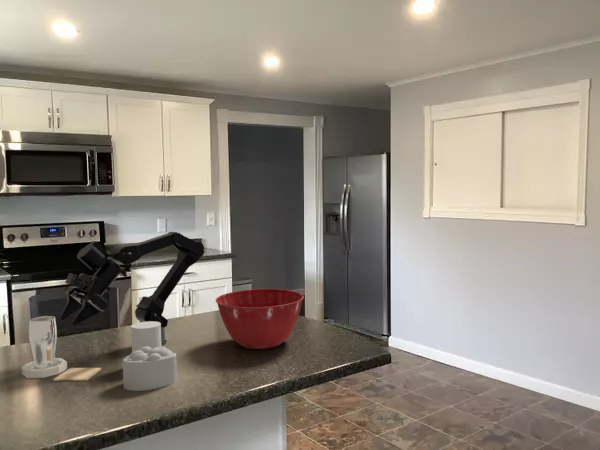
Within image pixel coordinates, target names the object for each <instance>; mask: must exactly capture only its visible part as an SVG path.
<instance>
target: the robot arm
mask: <svg viewBox="0 0 600 450" xmlns="http://www.w3.org/2000/svg"><path fill="white" fill-rule="evenodd" d="M170 246H173V247H174V248H175V249H176V250H177V255H176V260H175V262H174V263H173V265H172V266H171V268H170V269H169V270H168V272H167V273H166V274H165V275H164V277H163V279H162V280H161V282H160V283H159V285H158V286H157V287H156V289H155V291H154V292H152V294H151V295H149V296H144V295H143V296H142V298H141V299H140V301H139V302H138V303H137V304H136V305H135V307H136V309H135V310H134V315H135V319H136V320H137V321H138V322H139V323H140V322H148V321H154V322H160V323H161V344H162V346H163V347H164V345H165V344H166V343H167V342H168V340H167V339H166V331H165V329H166V328H167V327H168V323H169V320H168V319H167V317H165V316H163V313H164V311H165V305H166V304H165V303H166V302H167V300H168V299H169V297H170V295H172V292H173V291H174V290H175V288H176V286H177V285H178V284H179V282H180V281H181V279H182V278H183V276H184V275H185V273H187V270H188V269H189V268H190V267H191V266H193V265H194V264H195V263H197V262H198V261H199V260H200V259H201V258H202V257H203V256H204V254H205V252H206V250H205V245H204V244H203V243H202V242H201V241H195V240H194V239H192V238H189V237H187V236H185V235H184V234H182V233H180V232H178V231H169V232H167V233H164V234H162V235H158V236H155V237H152V238H149V239H146V240H143V241H140V242H136V243H126V244H125V243H124V244H119V245H115V246H114V247H113V248H112V249H110V250H109V249H108V250H105V249H104V248H102V247H101V246H100V244H99V243H98V242H97V241H93V240H92V241H91V242H90V243H89V244H87V245H85V246H84V247H83V248H81V249H80V250H79V251H78V253H77V255H76V258H77V259H78V260H79V261H80V262H82V264H84V265H85V266H87V267H88V268H89V269H90V270H91V271H92V270H97V271H96V272H95V273H94V274H93V275H89V274H87V273H84V272H83V273H82V272H81V273H80V274H75V273H71V272H69V273H68V275H67V277H66V280H65V284H68V285H70V286H69V287H68V288H67V289H66V290H65V296H66V303H65V305H64V307H63V310H62V312H61V315H60V316H59V320H61V321H64V320H66V319H67V318H69V317H70V316H72V315H73V314H74V313H76V312H77V311H78V312H77V314H76V315H75V317H74V318H73V320H72V322H71V325H72V326H77V325H78V324H81V323H82V322H85V321H86V320H88V319H90V318H92V317H94V316H96V315H98V314H101V313H102V312H104V313H105V312H106V311H107V309H108V308H109V306H110V305H109V301H108V300H106V299H105V298H104V297H103V295H104V293H105V292H110V290H111V285H112V284H113V283H114V282H115V280H116V279H117V278H118V276H120V277H125V278H127V277H128V275H127V273H128V272H127V268H126V267H121V264H122V265H127V266H128V265H132V264H133V263H135V262H137V261H138V260H140V259H141V258H142V257H144V256H145V255H147V254H150V253H153V252H156V251H160V250H162V249H165V248H168V247H170ZM110 260H112V261H113V262H112V261H110ZM119 264H120V265H119Z"/></svg>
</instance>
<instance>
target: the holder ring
mask: <svg viewBox="0 0 600 450" xmlns="http://www.w3.org/2000/svg"><path fill="white" fill-rule="evenodd" d="M55 363H56V366H55V367H51V368H47V369H33V367H34V360H32V361H30V362H28V363H26V364H24V365H23V366H21V375H22V376H23V377H25V378H26V379H44V378H47V377H52V376H55V375H57V376H58V375H60V374H62V373H63V372H65V371H66V370H68V361H66V359H64V358H61V357H59V358H58V357H55Z"/></svg>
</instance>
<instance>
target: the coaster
mask: <svg viewBox="0 0 600 450" xmlns="http://www.w3.org/2000/svg"><path fill="white" fill-rule="evenodd" d="M99 371H102V367H69V368H67V369H66V370H64V371H63V372H61V373H60V374H58V375H57V376H56V377H55V378H53V379H52V380H53V382H55V381H57V382H58V381H59V382H60V381H61V382H62V381H63V382H65V381H67V382H68V381H69V382H72V381H73V382H77V381H78V382H81V381H82V382H83V381H84V382H85V381H88V380H89V379H91V378H92V377H94V376H95V374H97V373H98V372H99Z"/></svg>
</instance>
